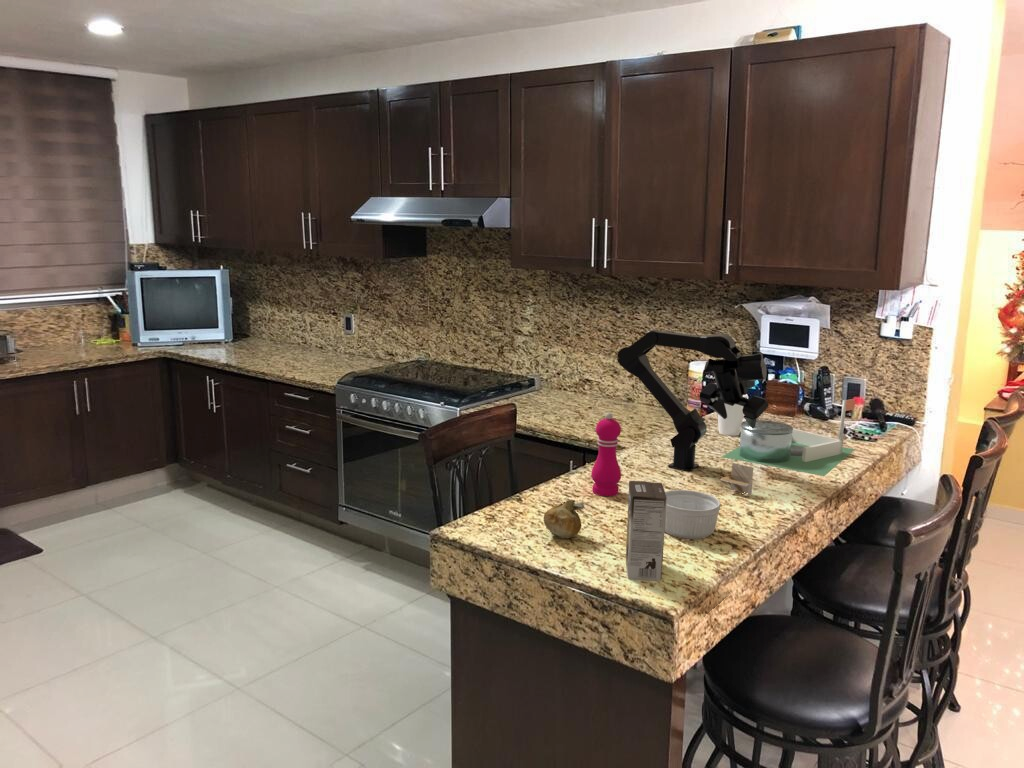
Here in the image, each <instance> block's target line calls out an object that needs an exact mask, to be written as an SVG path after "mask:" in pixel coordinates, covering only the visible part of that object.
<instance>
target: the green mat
mask: <svg viewBox="0 0 1024 768" xmlns="http://www.w3.org/2000/svg"><path fill="white" fill-rule="evenodd" d="M791 445H798V446H803V447H809V446H807V445H803V444H799V443H795V442H791ZM855 450H856V449H855V448H849V447H844V446H843V447H842V454H839V455H834V456H830V457H826V458H821V459H817V460H812V461H808V462H802V456H791V455H790V460H789V461H787V462H782V463H764V462H757V461H752V460H748V459H745V458H743V457H741V456H740V455H739V451H740V445H739V446H738V447H736V448H734V449H732V450H730V451H729V452H727V453H725V454H723V455H722V456H721V458H725V459H730V460H734V461H741V462H744V463H745V462H747V463H751V464H758V465H763V466H768V467H773V468H778V469H784V470H789V471H794V472H800V473H805V474H810V475H815V476H816V475H817V476H821V477H825V476H827V474H829V473H830V472H831V471H832V470H833V469H834V468H835V467H837V465H839V464H841V462H842V461H843V460H845V459H846V458H848V456H849V455H851V454H852V453H853V452H854V451H855Z"/></svg>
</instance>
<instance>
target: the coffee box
mask: <svg viewBox="0 0 1024 768" xmlns="http://www.w3.org/2000/svg"><path fill="white" fill-rule="evenodd" d="M627 502H628V503H627V519H626V521H627V523H626V542H625V543H626V544H625V548H626V549H625V564H626V566H625V567H626V573H627V579H628V580H640V581H656V582H660V581H662V576H663V574H662V573H663V572H662V571H663V560H664V546H665V533H666V532H665V519H666V502H667V497H666V494H665V489H664V485H663V482H653V481H643V480H629V481H628V500H627Z"/></svg>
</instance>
